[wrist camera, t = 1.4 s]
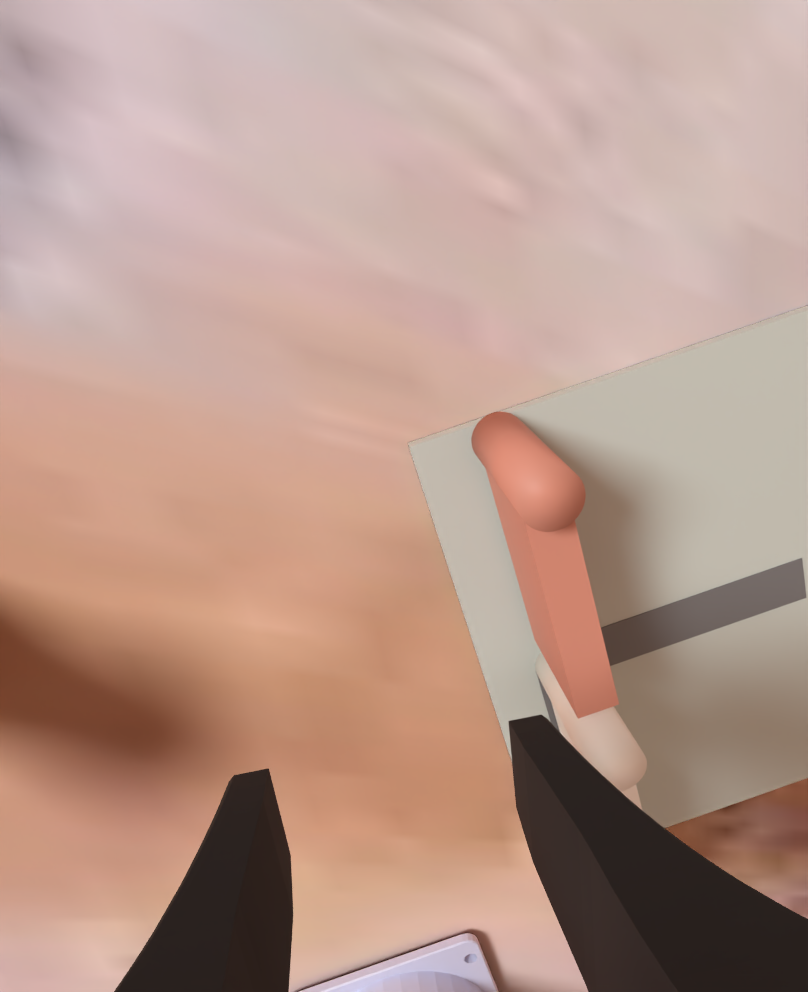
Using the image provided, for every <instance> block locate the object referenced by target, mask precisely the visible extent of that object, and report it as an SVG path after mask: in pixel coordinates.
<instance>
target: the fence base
mask: <svg viewBox="0 0 808 992" xmlns="http://www.w3.org/2000/svg"><path fill="white" fill-rule="evenodd" d="M535 670H536V673H537V675H538V677H539V679H540V681H541V683H542V685H543V687H544V689H545V691H546V693H547V694H548V696H549V698H550V700H551V703H552V706H553V710H554V713H555V717H556V720H557V724H558V727H559V731H560V733H561V734H562V735H563V736H564V737H565V738H566V740H567V741H568V742H569V743H570V744H571V745H572V746H573V747H574V748H575V749H576V750H577V751H578V752H579V753H580V754H581V755H582V756H583V757H584V758H585V759H586V760H587V761H588V762H589V763H590V764H591V765H592V766H593V767H594V768H595V769H596V770H598V771H599V772H600V773H601V774H602V775H603V776H604V777H605V778H606V779H607V780H608V781H609V782H611V783H612V784H613V785H614V786H615V787H616V788H617V789H618V790H619V791H620V792H622V793H623V794H624V795H625V796H626V797H627V798H628V799H630V800H631V801H632V802H633V803H634V804H635V805H637V806H638V807H639V808H640V809H641V810H642V807H641V803H640V798H639V794H638V790H637V786H636V784H637V783H638V782H639V781H640V780H641V778H642V777H643V775H644V774H645V772H646V768H647V759H646V757H645V755H644V753H643V752H642V750H641V748H640V747H639V745H638V744H637V742H636V741H635V739H634V737H633V736H632V734H631V733H630V731H629V729H628V728H627V726H626V725H625V723H624V722H623V720H622V718H621V717H620V715H619V714H618V712H617V711H616V709H615V707H614V706H613V707H610V708H607V709H604V710H602V711H599V712H596V713H593V714H590V715H587V716H584V717H582V718H579V719H578V718H577V716H576V714H575V712H574V710H573V709H572V707H571V705H570V703H569V701H568V700H567V698H566V696H565V694H564V692H563V690H562V689H561V687H560V685H559V683H558V681H557V680H556V678H555V676H554V674H553V672H552V670H551V669H550V667H549V665H548V663H547V661H546V660H545V658H544V656H543V654H542V652H541V653H540V654H539V655H538V657H537V659H536V663H535Z"/></svg>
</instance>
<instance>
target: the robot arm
mask: <svg viewBox="0 0 808 992" xmlns="http://www.w3.org/2000/svg"><path fill="white" fill-rule="evenodd" d="M508 722H509V733H510V744H511V754H512V765H513V776H514V786H515V797H516V808H517V811H518V814H519V818H520V821H521V824H522V828H523V831H524V834H525V837H526V841H527V844H528V847H529V850H530V853H531V857H532V860H533V863H534V865H535V868H536V870H537V872H538V875H539V877H540V879H541V882H542V884H543V886H544V889H545V891H546V893H547V896H548V898H549V900H550V903H551V905H552V907H553V910H554V912H555V914H556V917H557V919H558V921H559V924H560V926H561V928H562V931H563V933H564V935H565V937H566V940H567V942H568V944H569V947H570V949H571V951H572V954H573V956H574V958H575V961H576V963H577V965H578V968H579V970H580V972H581V974H582V977H583V979H584V981H585V984H586V986H587V989H588V991H589V992H808V919H807V918H805V917H803V916H801V915H799V914H797V913H795V912H793V911H791V910H789V909H788V908H786V907H784V906H782V905H781V904H779V903H777V902H775V901H774V900H772V899H770V898H769V897H767V896H765V895H763V894H762V893H760V892H758V891H757V890H755V889H753V888H751V887H750V886H748V885H746V884H744V883H743V882H741V881H739V880H738V879H736V878H735V877H733V876H732V875H730V874H728V873H727V872H725V871H724V870H722V869H721V868H719V867H718V866H716V865H715V864H713V863H712V862H710V861H709V860H707V859H706V858H704V857H703V856H702V855H700V854H699V853H697V852H696V851H694V850H693V849H692V848H690V847H689V846H687V845H686V844H685V843H683V842H682V841H681V840H679V839H678V838H677V837H675V836H674V835H673V834H671V833H670V832H669V831H667V830H666V829H665V828H664V827H662V826H661V825H660V824H658V823H657V822H656V821H655V820H654V819H652V818H651V817H650V816H649V815H647V814H646V813H645V812H644V811H642V810H641V809H640V808H639V807H638V806H637V805H635V804H634V803H633V802H632V801H631V800H630V799H628V798H627V797H626V796H625V795H624V794H623V793H622V792H620V791H619V790H618V789H617V788H616V787H615V786H614V785H613V784H612V783H611V782H609V781H608V780H607V779H606V778H605V777H604V776H603V775H602V774H601V773H600V772H599V771H598V770H596V769H595V768H594V767H593V766H592V765H591V764H590V763H589V762H588V761H587V760H586V759H585V758H584V757H583V756H582V755H581V754H580V753H579V752H578V751H577V750H576V749H575V748H574V747H573V746H572V745H571V744H570V743H569V742H568V741H567V740H566V738H565V737H564V736H563V735H562V734H561V733H560V732H559V731H558V730H557V729H556V728H555V727H554V726H553V724H552V723H551V722H550V721H549V720H548V719H547V718H546V717H544V716H543V715H536V716H531V717H526V718H521V719H516V720H511V721H508ZM292 924H293V900H292V877H291V856H290V851H289V847H288V843H287V839H286V835H285V831H284V827H283V823H282V819H281V816H280V812H279V808H278V804H277V800H276V796H275V792H274V788H273V784H272V780H271V776H270V772H269V769H264V770H259V771H254V772H249V773H244V774H239V775H234V776H233V777H232V779H231V780H230V781H229V783H228V786H227V788H226V791H225V793H224V795H223V798H222V800H221V803H220V805H219V807H218V810H217V812H216V814H215V816H214V818H213V821H212V823H211V825H210V827H209V829H208V831H207V834H206V836H205V838H204V840H203V842H202V844H201V846H200V848H199V850H198V852H197V854H196V856H195V858H194V860H193V862H192V864H191V866H190V868H189V870H188V872H187V874H186V876H185V878H184V879H183V881H182V883H181V885H180V887H179V889H178V890H177V892H176V894H175V896H174V897H173V899H172V901H171V903H170V904H169V906H168V908H167V910H166V911H165V913H164V915H163V916H162V918H161V920H160V922H159V923H158V925H157V927H156V929H155V930H154V932H153V934H152V935H151V937H150V938H149V940H148V942H147V943H146V945H145V946H144V948H143V950H142V951H141V953H140V954H139V956H138V957H137V959H136V960H135V962H134V963H133V965H132V966H131V968H130V969H129V971H128V972H127V974H126V975H125V977H124V978H123V980H122V981H121V983H120V984H119V985H118V987H117V988H116V990H115V991H114V992H288V989H289V974H290V958H291V941H292ZM299 992H499V991H498V988H497V986H496V984H495V981H494V979H493V976H492V974H491V971H490V969H489V966H488V964H487V961H486V959H485V956H484V954H483V951H482V949H481V946H480V944H479V941H478V939H477V937H476V936H475V935H473V934H471V933H464V934H461V935H458V936H455V937H452V938H449V939H446V940H443V941H441V942H438V943H435V944H432V945H429V946H426V947H424V948H421V949H418V950H415V951H412V952H409V953H407V954H404V955H401V956H398V957H395V958H392V959H389V960H387V961H384V962H381V963H378V964H375V965H372V966H370V967H367V968H364V969H361V970H358V971H355V972H353V973H350V974H347V975H344V976H341V977H338V978H335V979H333V980H330V981H327V982H324V983H321V984H318V985H316V986H313V987H310V988H307V989H304V990H301V991H299Z"/></svg>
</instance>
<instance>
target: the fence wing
mask: <svg viewBox="0 0 808 992" xmlns="http://www.w3.org/2000/svg"><path fill="white" fill-rule="evenodd" d="M471 443H472V448H473V451H474V453H475V454H476V456H477V457H478V459H479V460H480V461H481V463H482V464H483V465H484V467H485V468H486V472H487V475H488V479H489V482H490V486H491V489H492V493H493V496H494V500H495V503H496V507H497V510H498V514H499V517H500V521H501V524H502V528H503V531H504V535H505V538H506V542H507V545H508V549H509V552H510V556H511V559H512V563H513V566H514V570H515V573H516V577H517V580H518V583H519V587H520V590H521V594H522V597H523V601H524V604H525V608H526V611H527V615H528V618H529V622H530V625H531V629H532V632H533V636H534V639H535V641H536V643H537V645H538V647H539V649H540V650H541V652H542V654H543V656H544V658H545V660H546V661H547V663H548V665H549V667H550V669H551V670H552V672H553V674H554V676H555V678H556V680H557V681H558V683H559V685H560V687H561V689H562V690H563V692H564V694H565V696H566V698H567V700H568V701H569V703H570V705H571V707H572V709H573V710H574V712H575V714H576V716H577V718H578V719H579V718H582V717H584V716H587V715H590V714H593V713H596V712H599V711H602V710H604V709H607V708H610V707H613V706H616V705H619V701H618V697H617V693H616V689H615V685H614V680H613V676H612V672H611V668H610V664H609V660H608V656H607V651H606V647H605V643H604V639H603V635H602V631H601V627H600V623H599V618H598V614H597V610H596V606H595V602H594V598H593V594H592V589H591V585H590V581H589V577H588V573H587V569H586V565H585V560H584V556H583V552H582V548H581V544H580V540H579V536H578V532H577V527H576V523H575V519H576V518H577V517H578V516H579V514H580V513H581V511H582V509H583V507H584V503H585V498H586V492H585V487H584V484H583V482H582V480H581V479H580V477H579V476H578V475H577V474H576V473H575V472H574V471H573V470H572V469H571V468H570V467H569V466H567V465H566V464H565V463H564V462H563V461H562V460H561V459H560V458H559V457H558V456H557V455H556V454H555V453H554V452H553V451H552V450H551V449H550V448H549V447H548V446H547V445H546V444H545V443H543V442H542V441H541V440H540V439H539V438H538V437H537V436H536V435H535V434H534V433H533V432H532V431H531V430H530V429H529V428H528V427H527V426H526V425H525V424H524V423H523V422H522V421H521V420H519V419H518V418H517V417H516V416H515V415H513V414H511V413H507V412H494V413H491V414H489V415H487V416H485V417H484V418H482V419H481V420H480V421H479V422H478V423H477V425H476V426H475V428H474V430H473V433H472V439H471Z"/></svg>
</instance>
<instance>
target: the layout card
mask: <svg viewBox="0 0 808 992" xmlns="http://www.w3.org/2000/svg"><path fill="white" fill-rule="evenodd" d="M499 412H507V413H511V414H513V415H515V416H516V417H517V418H518V419H519V420H521V421H522V422H523V423H524V424H525V425H526V426H527V427H528V428H529V429H530V430H531V431H532V432H533V433H534V434H535V435H536V436H537V437H538V438H539V439H540V440H541V441H542V442H543V443H545V444H546V445H547V446H548V447H549V448H550V449H551V450H552V451H553V452H554V453H555V454H556V455H557V456H558V457H559V458H560V459H561V460H562V461H563V462H564V463H565V464H566V465H567V466H569V467H570V468H571V469H572V470H573V471H574V472H575V473H576V474H577V475H578V476H579V477H580V479H581V480H582V482H583V484H584V487H585V492H586V498H585V503H584V507H583V509H582V511H581V513H580V514H579V516H578V517H577V518H576V519H575V523H576V527H577V532H578V536H579V540H580V544H581V548H582V552H583V556H584V560H585V565H586V569H587V573H588V577H589V581H590V585H591V589H592V594H593V598H594V602H595V606H596V610H597V614H598V618H599V623H600V627H601V631H602V635H603V639H604V643H605V647H606V651H607V656H608V660H609V664H610V668H611V672H612V676H613V680H614V685H615V689H616V693H617V697H618V701H619V705H616V706H614V707H615V709H616V711H617V712H618V714H619V715H620V717H621V718H622V720H623V722H624V723H625V725H626V726H627V728H628V729H629V731H630V733H631V734H632V736H633V737H634V739H635V741H636V742H637V744H638V745H639V747H640V748H641V750H642V752H643V753H644V755H645V757H646V759H647V768H646V772H645V774H644V775H643V777H642V778H641V780H640V781H639V782H638V783H637V784H636V786H637V790H638V794H639V798H640V803H641V807H642V811H644V812H645V813H646V814H647V815H649V816H650V817H651V818H652V819H654V820H655V821H656V822H657V823H658V824H660V825H661V826H662V827H664V828H667V827H670V826H673V825H675V824H678V823H681V822H684V821H687V820H690V819H692V818H695V817H698V816H701V815H704V814H707V813H710V812H712V811H715V810H718V809H721V808H724V807H727V806H729V805H732V804H735V803H738V802H741V801H744V800H747V799H749V798H752V797H755V796H758V795H761V794H764V793H766V792H769V791H772V790H775V789H778V788H781V787H784V786H786V785H789V784H792V783H795V782H798V781H801V780H803V779H806V778H808V305H807V306H804V307H801V308H799V309H796V310H793V311H790V312H787V313H784V314H781V315H778V316H775V317H772V318H769V319H767V320H764V321H761V322H758V323H755V324H752V325H749V326H746V327H743V328H740V329H738V330H735V331H732V332H729V333H726V334H723V335H720V336H717V337H714V338H711V339H708V340H706V341H703V342H700V343H697V344H694V345H691V346H688V347H685V348H682V349H679V350H676V351H674V352H671V353H668V354H665V355H662V356H659V357H656V358H653V359H650V360H647V361H645V362H642V363H639V364H636V365H633V366H630V367H627V368H624V369H621V370H618V371H615V372H613V373H610V374H607V375H604V376H601V377H598V378H595V379H592V380H589V381H586V382H583V383H581V384H578V385H575V386H572V387H569V388H566V389H563V390H560V391H557V392H554V393H552V394H549V395H546V396H543V397H540V398H537V399H534V400H531V401H528V402H525V403H522V404H520V405H517V406H514V407H511V408H508V409H505V410H502V411H499ZM482 418H484V417H482ZM482 418H479V419H476V420H473V421H470V422H467V423H464V424H461V425H459V426H456V427H453V428H450V429H447V430H444V431H441V432H438V433H435V434H432V435H429V436H427V437H424V438H421V439H418V440H415V441H412V442H409V443H408V446H409V449H410V452H411V455H412V458H413V462H414V465H415V468H416V471H417V474H418V477H419V480H420V483H421V486H422V489H423V492H424V495H425V498H426V501H427V504H428V507H429V510H430V513H431V516H432V520H433V523H434V526H435V529H436V532H437V535H438V538H439V541H440V544H441V547H442V550H443V553H444V556H445V559H446V562H447V565H448V568H449V571H450V574H451V578H452V581H453V584H454V587H455V590H456V593H457V596H458V599H459V602H460V605H461V608H462V611H463V614H464V617H465V620H466V623H467V626H468V629H469V632H470V636H471V639H472V642H473V645H474V648H475V651H476V654H477V657H478V660H479V663H480V666H481V669H482V672H483V675H484V678H485V681H486V684H487V687H488V691H489V694H490V697H491V700H492V703H493V706H494V709H495V712H496V715H497V718H498V721H499V724H500V727H501V730H502V733H503V736H504V739H505V742H506V745H507V749H508V752H509V755H510V758H511V761H512V754H511V744H510V733H509V722H508V721H511V720H516V719H521V718H526V717H531V716H536V715H543V716H544V717H546V718H547V719H548V720H549V721H550V722H551V723H552V724H553V726H554V727H555V728H556V729H557V730H558V731H559V727H558V724H557V720H556V717H555V713H554V710H553V706H552V703H551V700H550V698H549V696H548V694H547V693H546V691H545V689H544V687H543V685H542V683H541V681H540V679H539V677H538V675H537V673H536V670H535V663H536V659H537V657H538V655H539V654H540V653H541V650H540V649H539V647H538V645H537V643H536V641H535V639H534V636H533V632H532V629H531V625H530V622H529V618H528V615H527V611H526V608H525V604H524V601H523V597H522V594H521V590H520V587H519V583H518V580H517V577H516V573H515V570H514V566H513V563H512V559H511V556H510V552H509V549H508V545H507V542H506V538H505V535H504V531H503V528H502V524H501V521H500V517H499V514H498V510H497V507H496V503H495V500H494V496H493V493H492V489H491V486H490V482H489V479H488V475H487V472H486V468H485V467H484V465H483V464H482V463H481V461H480V460H479V459H478V457H477V456H476V454H475V453H474V451H473V448H472V443H471V439H472V433H473V430H474V428H475V426H476V425H477V423H478V422H479V421H480V420H481V419H482ZM559 732H560V731H559Z"/></svg>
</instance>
